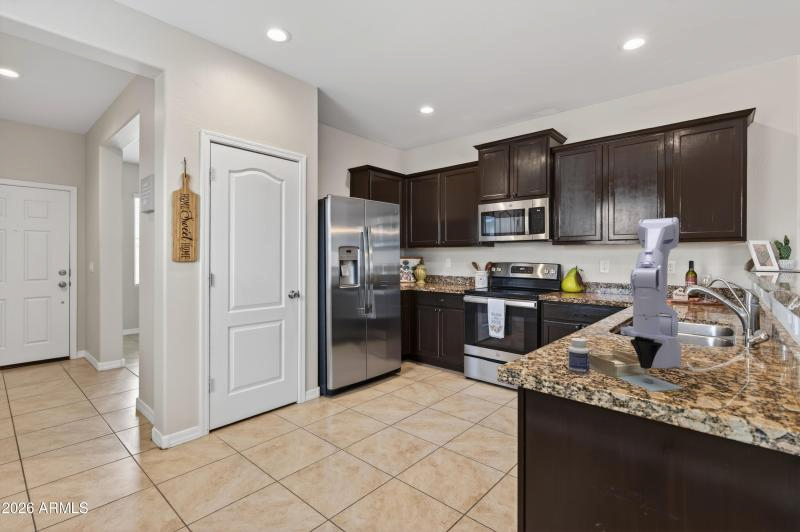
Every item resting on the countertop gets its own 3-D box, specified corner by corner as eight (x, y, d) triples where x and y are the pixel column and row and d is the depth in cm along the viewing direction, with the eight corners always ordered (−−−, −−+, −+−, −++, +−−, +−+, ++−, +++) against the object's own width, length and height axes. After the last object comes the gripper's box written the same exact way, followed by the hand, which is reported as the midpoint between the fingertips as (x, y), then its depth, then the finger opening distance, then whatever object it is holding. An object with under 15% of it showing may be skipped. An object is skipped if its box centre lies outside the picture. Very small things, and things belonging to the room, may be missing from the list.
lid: (645, 379, 103) (645, 372, 103) (683, 394, 93) (684, 385, 93) (615, 382, 101) (616, 374, 101) (651, 397, 91) (651, 388, 91)
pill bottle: (592, 377, 104) (592, 341, 104) (570, 376, 105) (570, 341, 105) (586, 371, 109) (586, 337, 109) (566, 370, 110) (566, 337, 110)
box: (613, 365, 116) (613, 349, 116) (648, 377, 104) (648, 359, 104) (581, 367, 113) (581, 351, 113) (613, 380, 101) (613, 362, 101)
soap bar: (616, 367, 111) (616, 360, 111) (625, 370, 108) (625, 363, 107) (601, 368, 110) (601, 361, 110) (610, 371, 106) (610, 364, 106)
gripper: (611, 311, 104) (611, 361, 104) (657, 319, 90) (657, 377, 90) (633, 310, 105) (633, 359, 105) (682, 318, 91) (682, 375, 91)
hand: (645, 367), depth 98 cm, fingers closed
